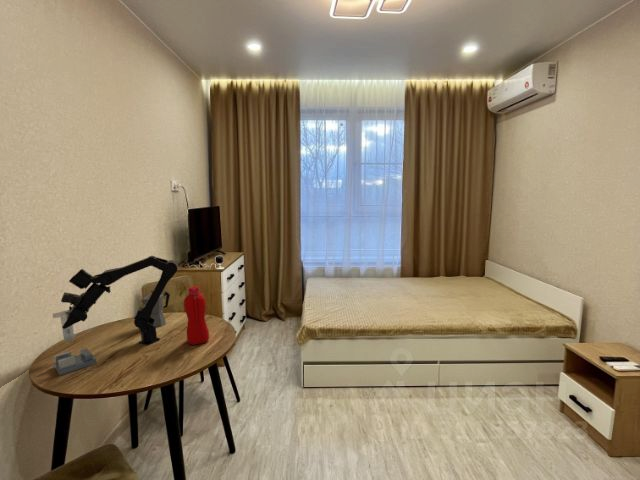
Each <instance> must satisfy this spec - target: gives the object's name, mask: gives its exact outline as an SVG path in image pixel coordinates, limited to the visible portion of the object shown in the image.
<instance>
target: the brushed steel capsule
mask: <svg viewBox="0 0 640 480" xmlns="http://www.w3.org/2000/svg"><path fill="white" fill-rule="evenodd" d="M69 311H70V310H69V309H67V310H63V311H60V312H54V313H52V319H57V318H60V323H61V331H62V334H63V335H62V338H63V341H64V342H70V341H73V340H74V339H75V333H74V332H75V331H74V324H73V325H71V326H69V327H68V328H66V329H63V328H62V327H63V325H64V324H65V322H66V320H67V319H68V317H69Z"/></svg>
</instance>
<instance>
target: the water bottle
mask: <svg viewBox="0 0 640 480" xmlns="http://www.w3.org/2000/svg"><path fill="white" fill-rule="evenodd" d="M199 287H200V286H191V287H188V294H187V295H186V296H185V298H184V300H183V306H184V310H185V314H186V317H187V327H186V341H187V343H188V344H189V346H190V345H191V346H196V345H200V344H205V343H207V342H208V341H209V340H210V332H209V329H208V328H209V327H208V325H207V322H206V318H205V317H206V309H207V301H206V298H205V296H204V294H203V293H201V292H200V288H199Z"/></svg>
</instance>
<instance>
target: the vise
mask: <svg viewBox="0 0 640 480" xmlns="http://www.w3.org/2000/svg"><path fill="white" fill-rule="evenodd" d="M96 364H97V358H96V357H95V356H94V355H93V353H92V352H91V351H90V350H89V349H88V348H83V349H79V354H77V355H72V352H71V351H70V350H69V351H64V352H61V353H58V354H55V355H54V362H53V368H54V369H55V370H56V372H57V374H58V375H59V376H63V375H66V374H69V373H72V372H75V371H77V370H81V369H84V368H87V367H89V366H93V365H96Z"/></svg>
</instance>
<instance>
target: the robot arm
mask: <svg viewBox="0 0 640 480" xmlns="http://www.w3.org/2000/svg"><path fill="white" fill-rule="evenodd" d="M149 267H153V268H155V269H157V270H160V271H161V275H160V278H159V280H158V282H157V283H156V284H155V287H154V289H153V290H152V291H153V292H151V294H150V295H151V296H150V298H149V299H148V301H147V303H146V305H145V304H144V306H143V307H142V306H139V307H138V310H137V312H136V313H135V315H134V317H133V319H134V321H133V324H134V327H136V328H138V330H139V331H140V340H139V341H138V343H139V344H141V345H147V346H148V345H151V344H153V343H156V342H158V341H159V340H161V338H160V337H158V336H157V327H156V328H155V326H154V324H155V321H156V320H155V319H153V318H152V317H150V316H151V313H152V310H153V308H154V306H155V304H156V303H157V301H158V299H159V297H160V295H161V293H164V292H163V291H164V290H165V288H166V287H167V284H168V283H169V281H170V280H171V279H172V278H173V277H174V276H175V274H176V273H177V271H178V267H179V265H178V262H177V261H175V260H168V259H164V258H160V257H157V256H155V255H150V256H148V257H145V258H143V259H141V260H138V261H135V262H133V263H130V264H127V265H124V266H121V267H115V268H110V269H106V270H104V271H102V272H101V273H98V274H95V275H94V276H93V275H92V274H90V273H89V272H87V271H86V270H85V269H83V268H81V269H79V271H78V272H77V273H76V274H74V275H73V276H72V277H71V278H70V279H69V281H68V282H69V283H71V284H72V285H74V286H75V287H77V288H79V289H81V290H83V289H86V290H85V292H81V294H80V295H79V294H75V293H70V292H63V295H62V297H61V299H60V302H61V303H65V304H66V303H68V304H69V307H68V310H70V311H69V317H68V319H67V320H66V322H65V324H64V325H63V327H62V326H61V329H62V328H63V329H66V328H68V327H69V326H71V325H73V326H74V325H75V324H78V323H80V322H85V321H86V320H87V319H88V312H89V311H90V309H91V308H92V307H93V305H96V303H97V301H98V300H99V299H100V298H101V296H102V295H103V294H104V293H105V292H106V293H107V294H110V293H111V285H112V284H114V283H116V282H117V281H119V280H120V279H122V278H124V277H125V276H128V275H131V274H133V273H137V272H138V271H141V270H143V269H147V268H149Z"/></svg>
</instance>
